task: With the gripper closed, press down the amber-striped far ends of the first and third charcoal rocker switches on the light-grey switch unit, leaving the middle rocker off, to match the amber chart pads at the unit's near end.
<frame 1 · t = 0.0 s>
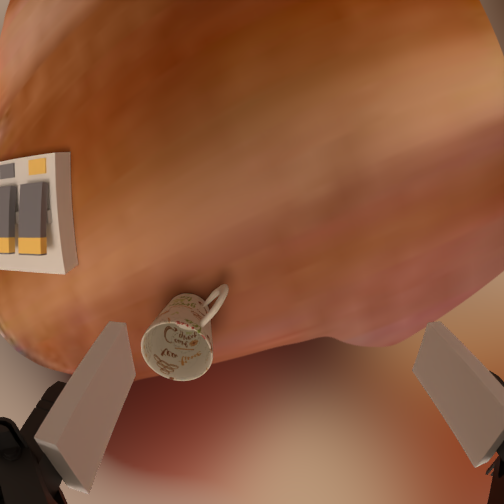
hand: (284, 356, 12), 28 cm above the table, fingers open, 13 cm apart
rocker 2: (2, 220, 32), point 6 cm above the table, hinge at -13.0°
rocker 3: (32, 219, 32), point 6 cm above the table, hinge at -13.0°
mug: (198, 301, 42), on the table
switch unit: (26, 211, 37), on the table
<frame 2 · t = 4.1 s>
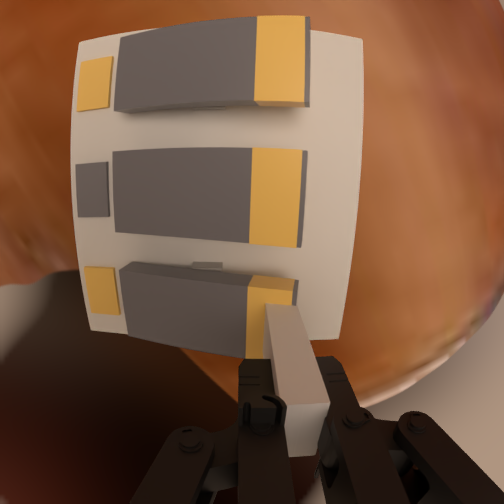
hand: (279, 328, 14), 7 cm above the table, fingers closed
rocker 2: (203, 192, 14), point 6 cm above the table, hinge at -13.0°
rocker 3: (207, 63, 12), point 6 cm above the table, hinge at -13.0°
rocker 1: (204, 312, 16), point 6 cm above the table, hinge at -12.9°, touching gripper
switch unit: (214, 181, 20), on the table
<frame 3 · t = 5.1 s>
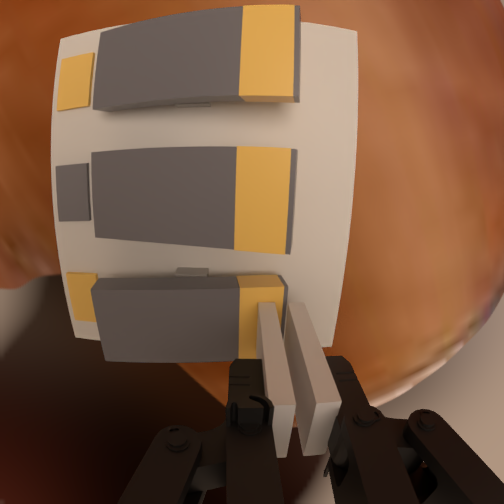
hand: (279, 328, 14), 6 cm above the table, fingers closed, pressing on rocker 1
rocker 2: (185, 194, 13), point 6 cm above the table, hinge at -13.0°
rocker 3: (190, 56, 11), point 6 cm above the table, hinge at -13.0°
rocker 1: (189, 321, 15), point 6 cm above the table, hinge at 6.3°, touching gripper
switch unit: (201, 181, 19), on the table
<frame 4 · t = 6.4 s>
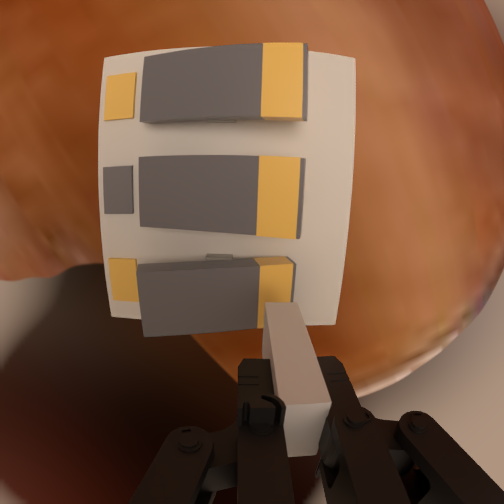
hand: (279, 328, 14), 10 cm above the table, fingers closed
rocker 2: (217, 192, 16), point 6 cm above the table, hinge at -13.0°
rocker 3: (221, 82, 15), point 6 cm above the table, hinge at -13.0°
rocker 1: (217, 296, 18), point 6 cm above the table, hinge at 14.2°
switch unit: (225, 183, 22), on the table
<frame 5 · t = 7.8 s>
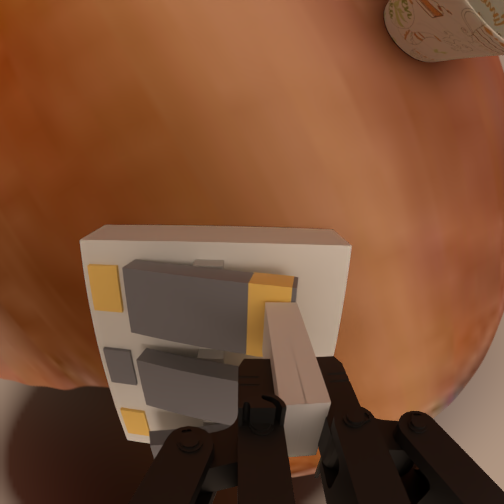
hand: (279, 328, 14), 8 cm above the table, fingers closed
rocker 2: (210, 392, 18), point 6 cm above the table, hinge at -13.0°
rocker 3: (206, 308, 16), point 6 cm above the table, hinge at -13.0°, touching gripper
mug: (396, 10, 16), on the table
rocker 1: (214, 447, 20), point 6 cm above the table, hinge at 14.9°
switch unit: (216, 340, 24), on the table
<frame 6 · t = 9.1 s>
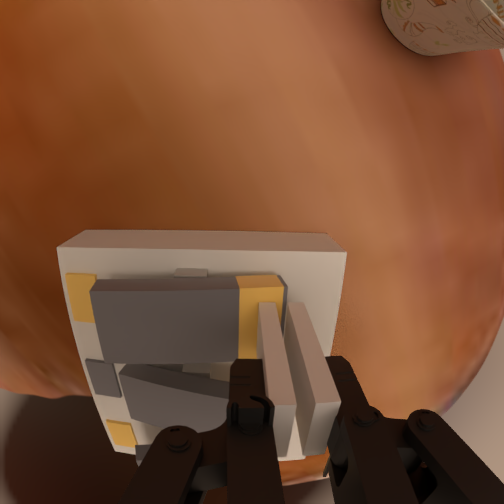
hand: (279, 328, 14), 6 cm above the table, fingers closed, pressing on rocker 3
rocker 2: (196, 408, 16), point 6 cm above the table, hinge at -13.0°
rocker 3: (189, 322, 15), point 6 cm above the table, hinge at 7.3°, touching gripper
mug: (394, 1, 15), on the table
rocker 1: (203, 461, 18), point 6 cm above the table, hinge at 14.9°
switch unit: (204, 350, 22), on the table
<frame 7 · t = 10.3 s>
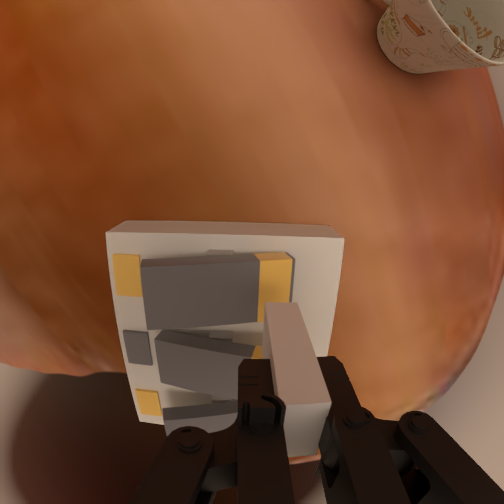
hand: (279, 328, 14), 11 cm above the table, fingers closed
rocker 2: (219, 369, 20), point 6 cm above the table, hinge at -13.0°
rocker 3: (218, 290, 19), point 6 cm above the table, hinge at 14.2°
mug: (388, 25, 19), on the table
rocker 1: (221, 424, 22), point 6 cm above the table, hinge at 14.9°
switch unit: (224, 326, 26), on the table
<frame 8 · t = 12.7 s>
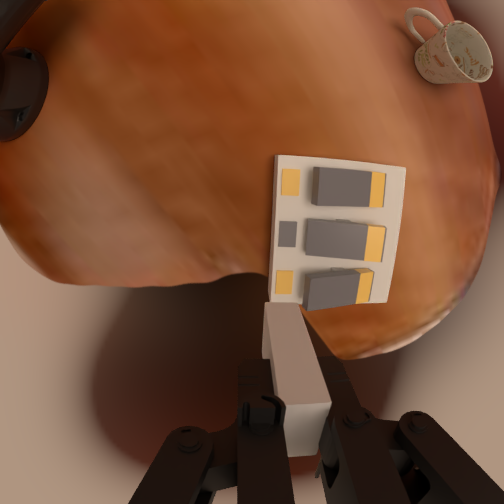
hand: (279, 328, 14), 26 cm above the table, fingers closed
rocker 2: (345, 240, 35), point 6 cm above the table, hinge at -13.0°
rocker 3: (350, 187, 33), point 6 cm above the table, hinge at 14.9°
mug: (420, 54, 33), on the table
rocker 1: (339, 288, 36), point 6 cm above the table, hinge at 14.9°
switch unit: (331, 228, 40), on the table
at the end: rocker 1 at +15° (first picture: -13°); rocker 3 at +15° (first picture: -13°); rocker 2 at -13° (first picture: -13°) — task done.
